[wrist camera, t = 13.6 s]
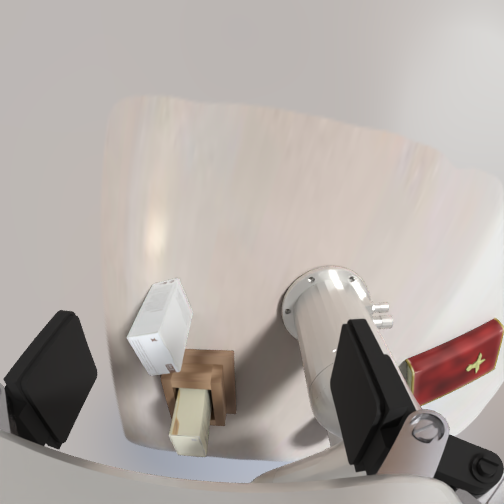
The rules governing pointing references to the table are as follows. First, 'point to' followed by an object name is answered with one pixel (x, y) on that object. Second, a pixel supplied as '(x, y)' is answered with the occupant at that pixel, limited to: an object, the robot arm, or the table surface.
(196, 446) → the skincare box
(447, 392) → the hardcover book
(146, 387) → the table surface
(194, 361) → the slotted stand
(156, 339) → the skincare box
